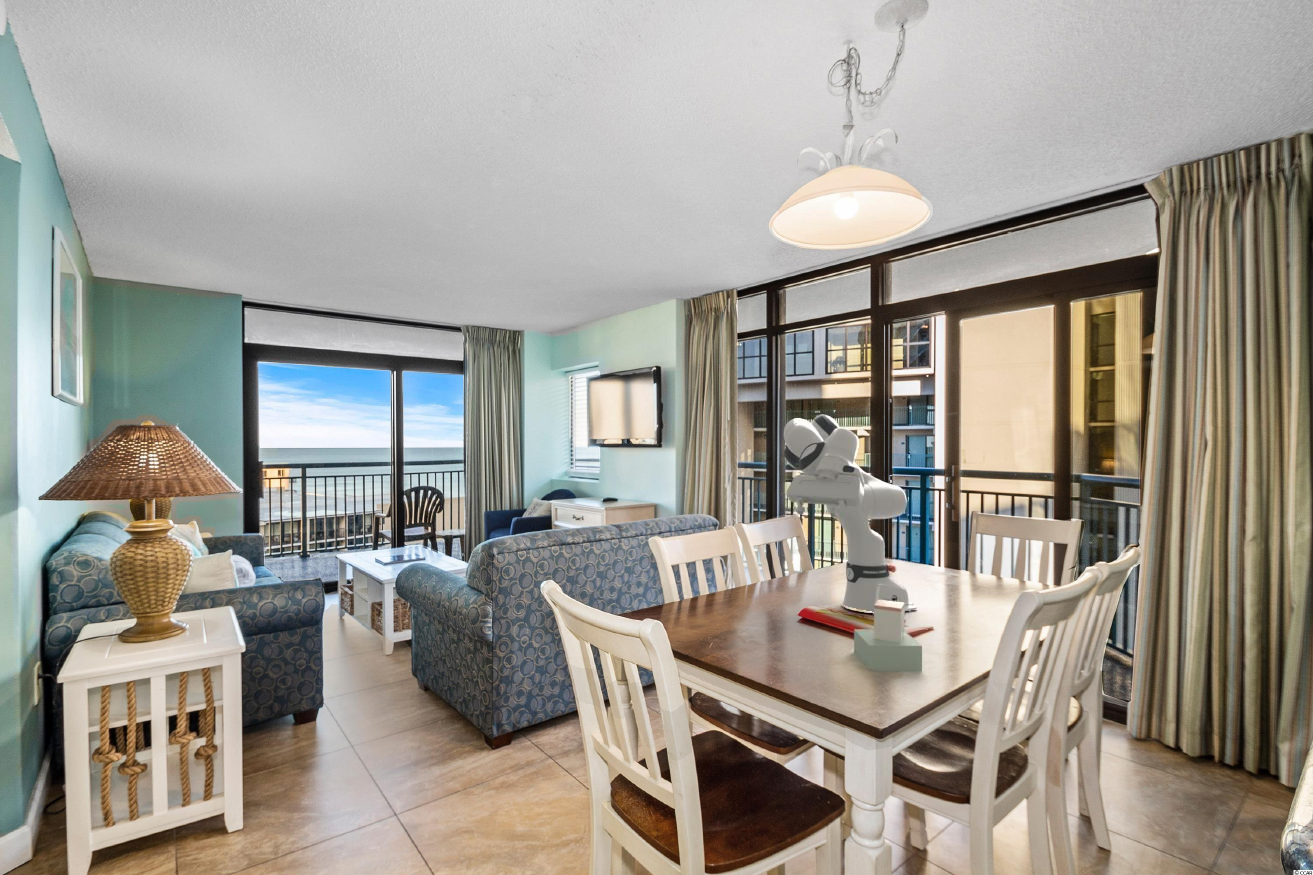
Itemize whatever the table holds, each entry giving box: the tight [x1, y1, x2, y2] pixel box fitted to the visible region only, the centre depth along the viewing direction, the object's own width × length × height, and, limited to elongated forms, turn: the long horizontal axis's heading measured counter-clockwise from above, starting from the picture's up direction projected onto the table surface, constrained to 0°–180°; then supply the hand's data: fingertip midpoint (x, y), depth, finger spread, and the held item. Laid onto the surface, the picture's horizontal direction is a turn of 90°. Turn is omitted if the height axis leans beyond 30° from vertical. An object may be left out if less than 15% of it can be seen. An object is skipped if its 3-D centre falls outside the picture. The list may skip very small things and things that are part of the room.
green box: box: [853, 628, 923, 673], centre depth 148 cm, size 12×12×6 cm
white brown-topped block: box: [873, 599, 906, 643], centre depth 148 cm, size 6×6×8 cm
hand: (816, 514), depth 162 cm, fingers open, 8 cm apart
